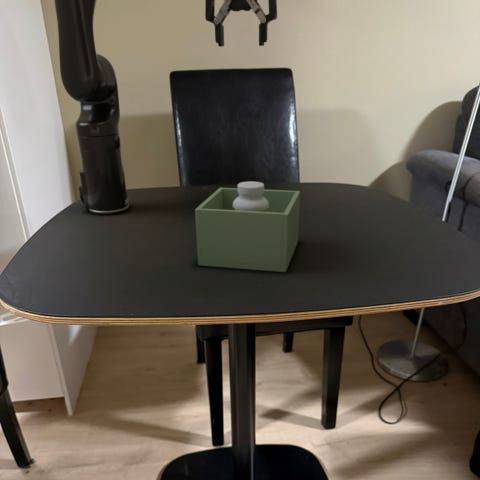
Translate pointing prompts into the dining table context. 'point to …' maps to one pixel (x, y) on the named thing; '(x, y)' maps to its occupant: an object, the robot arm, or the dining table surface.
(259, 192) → the pill bottle
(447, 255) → the dining table surface
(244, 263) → the storage bin
